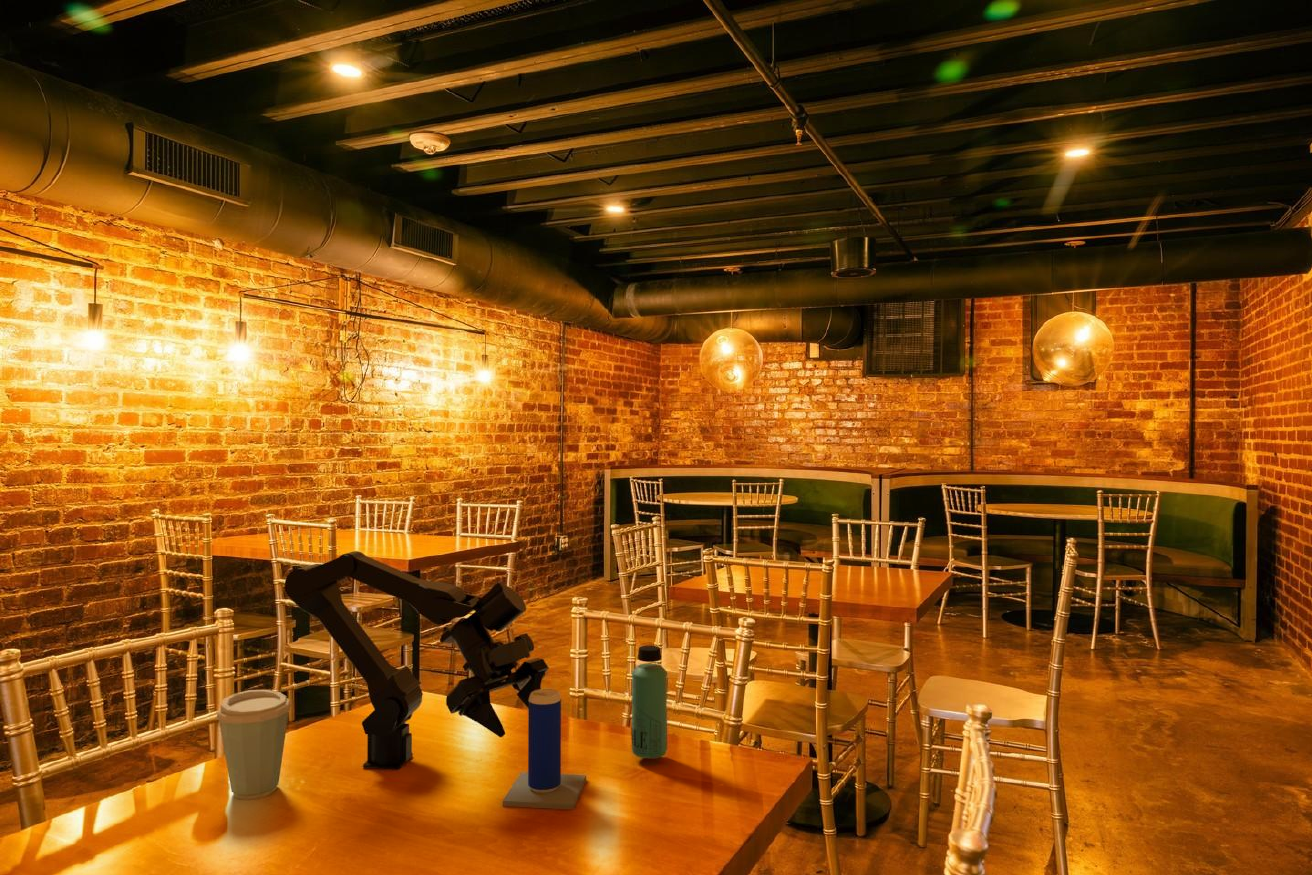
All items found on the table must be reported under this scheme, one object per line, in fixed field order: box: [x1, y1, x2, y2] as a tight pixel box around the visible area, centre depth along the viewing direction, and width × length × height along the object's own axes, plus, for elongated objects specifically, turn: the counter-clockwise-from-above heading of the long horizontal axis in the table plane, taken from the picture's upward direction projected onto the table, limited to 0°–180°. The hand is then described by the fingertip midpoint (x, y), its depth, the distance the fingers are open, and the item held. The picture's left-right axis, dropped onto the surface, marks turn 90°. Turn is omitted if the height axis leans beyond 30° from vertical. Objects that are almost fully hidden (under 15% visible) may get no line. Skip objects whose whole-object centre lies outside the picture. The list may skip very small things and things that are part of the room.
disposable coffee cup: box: [216, 689, 292, 801], centre depth 129 cm, size 11×11×15 cm
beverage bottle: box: [630, 644, 669, 759], centre depth 143 cm, size 6×7×20 cm
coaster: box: [502, 771, 587, 811], centre depth 130 cm, size 11×11×1 cm
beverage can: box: [527, 688, 562, 793], centre depth 130 cm, size 5×5×15 cm
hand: (524, 727), depth 133 cm, fingers open, 9 cm apart
